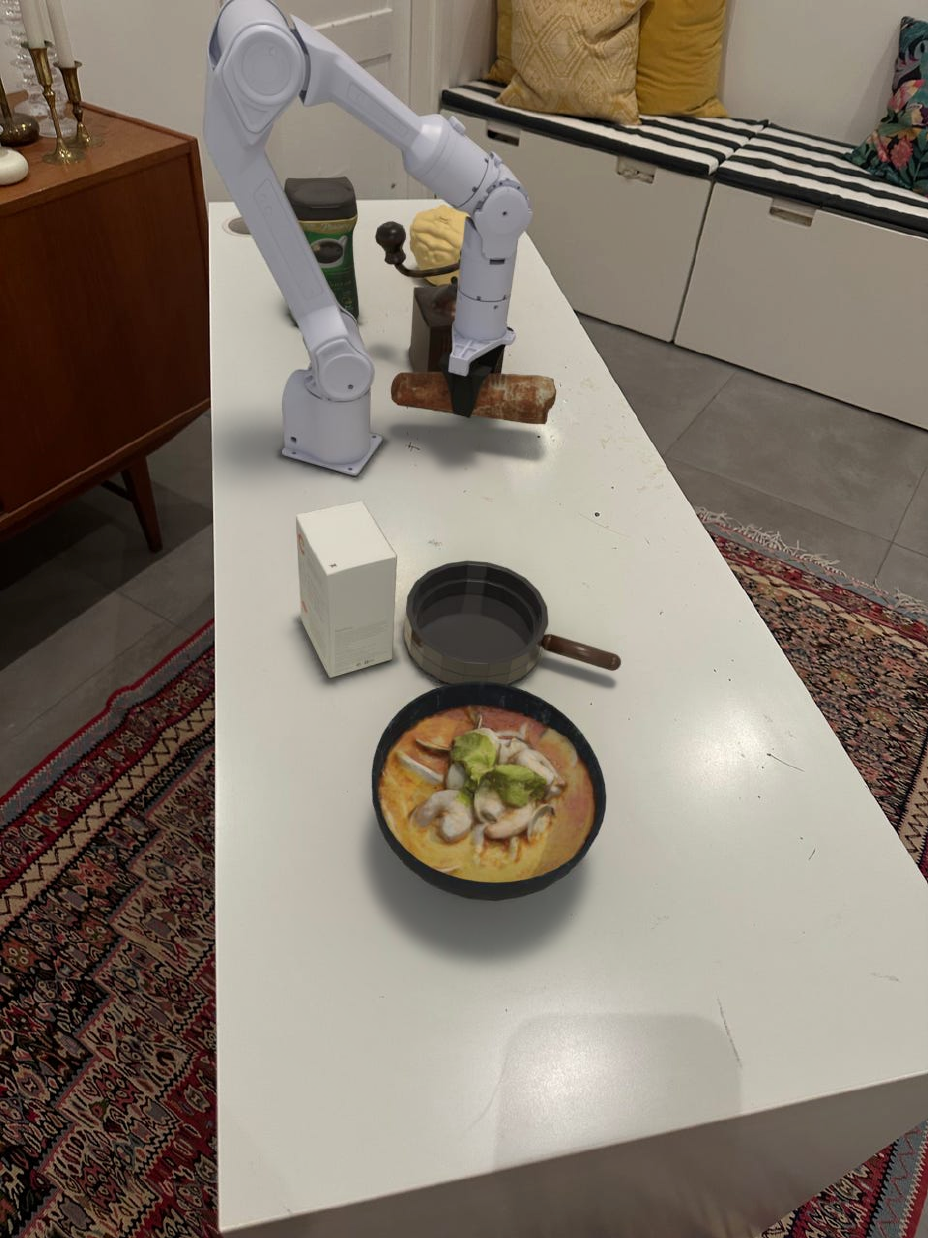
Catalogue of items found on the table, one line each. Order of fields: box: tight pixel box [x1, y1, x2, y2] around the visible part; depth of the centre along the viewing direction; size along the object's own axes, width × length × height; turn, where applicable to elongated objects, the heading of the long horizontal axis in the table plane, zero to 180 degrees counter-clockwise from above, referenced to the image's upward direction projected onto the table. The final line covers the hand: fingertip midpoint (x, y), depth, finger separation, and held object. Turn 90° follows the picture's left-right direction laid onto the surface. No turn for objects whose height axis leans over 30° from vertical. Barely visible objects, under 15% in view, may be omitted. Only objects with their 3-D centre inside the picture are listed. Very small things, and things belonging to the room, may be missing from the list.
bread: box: [390, 371, 557, 425], centre depth 101 cm, size 6×19×6 cm, turn 85°
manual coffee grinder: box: [374, 220, 506, 374], centre depth 110 cm, size 16×11×18 cm
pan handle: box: [542, 633, 622, 672], centre depth 80 cm, size 8×2×2 cm, turn 71°
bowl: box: [371, 681, 607, 902], centre depth 65 cm, size 17×17×10 cm
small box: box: [295, 500, 398, 678], centre depth 77 cm, size 8×6×13 cm
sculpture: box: [409, 204, 471, 287], centre depth 131 cm, size 12×12×11 cm
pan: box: [403, 560, 549, 685], centre depth 82 cm, size 13×13×4 cm
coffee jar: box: [283, 175, 360, 324], centre depth 116 cm, size 10×8×19 cm
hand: (471, 400), depth 102 cm, fingers closed on bread, 6 cm apart
